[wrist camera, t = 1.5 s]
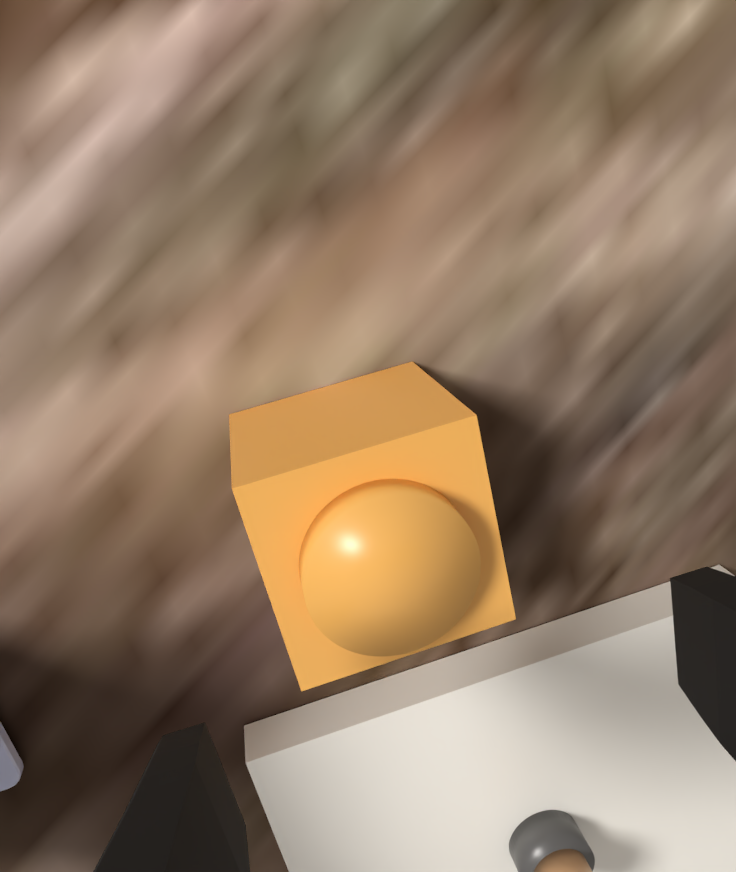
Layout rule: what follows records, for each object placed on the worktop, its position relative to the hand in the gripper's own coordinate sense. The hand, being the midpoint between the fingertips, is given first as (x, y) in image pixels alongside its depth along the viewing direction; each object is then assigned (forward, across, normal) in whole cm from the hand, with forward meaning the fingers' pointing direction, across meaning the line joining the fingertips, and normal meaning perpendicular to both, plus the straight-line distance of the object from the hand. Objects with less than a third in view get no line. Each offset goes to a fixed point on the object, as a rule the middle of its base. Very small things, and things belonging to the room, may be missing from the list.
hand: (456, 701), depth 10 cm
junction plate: (+10, -3, +14) cm, 17 cm away
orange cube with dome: (+10, 0, 0) cm, 10 cm away
